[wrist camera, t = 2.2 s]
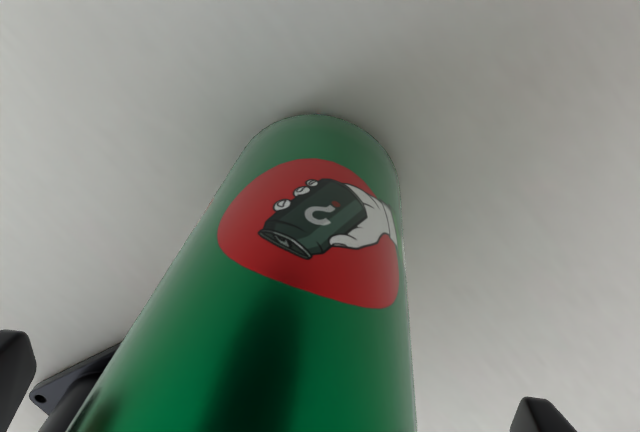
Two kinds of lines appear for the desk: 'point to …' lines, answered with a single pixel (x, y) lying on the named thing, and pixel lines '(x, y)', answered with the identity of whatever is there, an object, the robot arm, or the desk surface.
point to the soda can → (277, 301)
